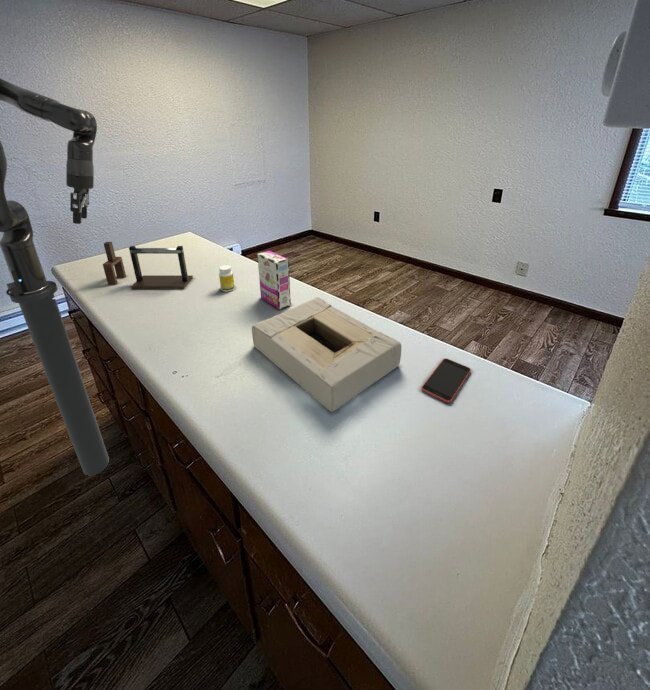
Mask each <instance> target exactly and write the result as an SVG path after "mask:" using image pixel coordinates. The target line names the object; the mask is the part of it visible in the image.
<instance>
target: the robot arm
mask: <svg viewBox="0 0 650 690" xmlns="http://www.w3.org/2000/svg"><path fill="white" fill-rule="evenodd" d="M0 101H1V102H4V103H7V104H9V105H11V106H13V107H14V108H17V109H19V110H20V111H21V112H23V113H25V114H27V115H30V116H32V117H35V118H38V119H40V120H44V121H45V122H49V123H53V124H55V125H57V126H59V127H61V128H63V129H65V130H68V131H71V132H72V138H71V139H69V140H68V141H67V145H66V164H65V166H66V167H65V169H66V171H65V175H66V176H65V177H66V180H65V182H66V183H65V185H66V187H68V188H72V189H73V192H70V194H69V195H70V197H69V199H70V200H69V202H70V208H69V210H70V212H71V213H72V223H73V224H75V225H76V224H77V225H80V224H82V219H83V220H84V219H87V218H88V208H89V205H90V190H92V189H94V184H95V183H94V181H95V180H94V179H95V177H94V176H95V175H94V174H95V172H94V171H95V170H94V169H95V167H94V144H95V142H96V137H97V132H98V123H97V120H96V117H95V116H94V114H92V113H91V112H90V111H88V110H85V109H80V108H75V107H73V106H70V105H67V104H63V103H61V102H60V101H58V100H56V99H54V98H50V97H48V96H46V95H42V94H40V93H38V92H35V91H32V90H29V89H26V88H24V87H21V86H18V85H17V84H16V85H15V84H14V83H11V82H9V81H8V80H7V81H6V80H5V79H3V78H0ZM7 171H8V159H7V155H6V151H5V148H4V144H3V142H2V140H1V139H0V233H2V236H1V238H0V250H1V253H2V255H3V258H4V261H5V263H6V266H7V272H8V273H9V276H10V279H11V282H8V283H5V284H6V288H7V290H6V291H5V294H6V295H7V296H9V295H10V296H14V295H15V294H17V293H18V294H19V296H22V295H28V294H34V293H37V292H40V291H42V290H44V289H46V288H47V287H48V286H49V285H48V283H47V281H48V279H47V277H46V275H45V272H44V269H43V266H42V263H41V260H40V257H39V254H38V251H37V248H36V246H35V245H36V244H35V242H34V230H33V226H32V223H31V219H30V215H29V213H28V211H27V209H26V208H25V207H24V205H23V204H21V203H20V202H19V201H16V200H11V199H10V200H7V197H6V191H5V183H6V178H7V174H8V173H7ZM10 293H11V294H10ZM10 296H9V297H10Z"/></svg>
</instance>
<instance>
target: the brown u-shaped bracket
mask: <svg viewBox="0 0 650 690" xmlns="http://www.w3.org/2000/svg"><path fill="white" fill-rule="evenodd" d="M103 247H104V251H105V255H106V261H105V262H104V263H102V267H103V268H102V269H103V272H104V275H105V278H106V283H107V285H109V286H113V285H117V284H118V279H119V278H120V279H121V278H122V279H123V278H124V279H125V278H126V277H127V274H126V269H125V266H124V265H125V264H124V262H123V258H122V256H116V252H115V248H114V244H113V241H105V242H104V243H103Z"/></svg>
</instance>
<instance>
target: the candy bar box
mask: <svg viewBox="0 0 650 690" xmlns="http://www.w3.org/2000/svg"><path fill="white" fill-rule="evenodd" d="M256 255H257V266H258V278H259V291H260V299H261V300H263V301H265V302H266V303H268V304H270V305H271V306H273V307H274V308H275V309H278V310H279V311H280V310H282V309H285V308H287V307H290V306H291V304H292V301H291V282H290V279H291V278H290V260H289V258H287V257H285V256H283V255H280V254H278V253H276V252H274V251H272V250H266V251H262V252H258V253H256Z"/></svg>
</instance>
